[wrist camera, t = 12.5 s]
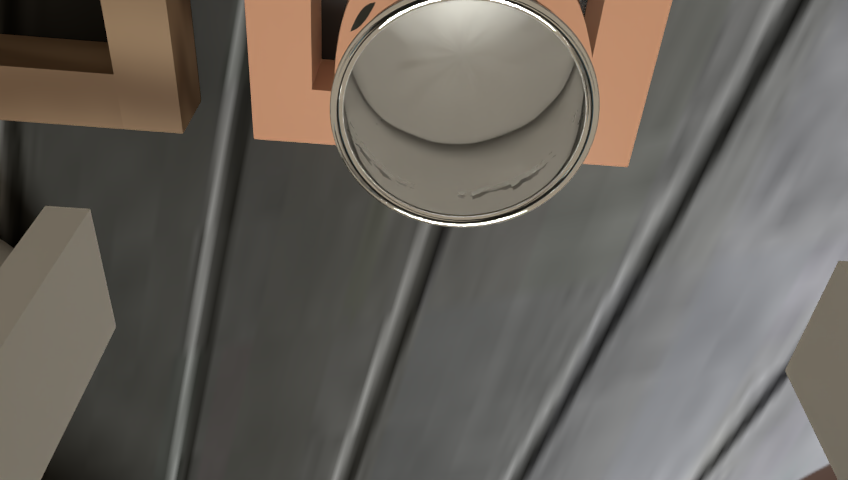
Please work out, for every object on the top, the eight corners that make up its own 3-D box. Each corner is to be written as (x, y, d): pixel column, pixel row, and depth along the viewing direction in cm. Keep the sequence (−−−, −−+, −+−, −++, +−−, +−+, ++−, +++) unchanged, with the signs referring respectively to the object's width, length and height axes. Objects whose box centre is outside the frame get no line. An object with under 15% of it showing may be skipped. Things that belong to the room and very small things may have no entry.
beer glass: (354, -145, 29) (289, -2, 17) (541, -173, 29) (610, -44, 17) (385, 32, 33) (350, 246, 21) (550, 12, 33) (609, 221, 21)
